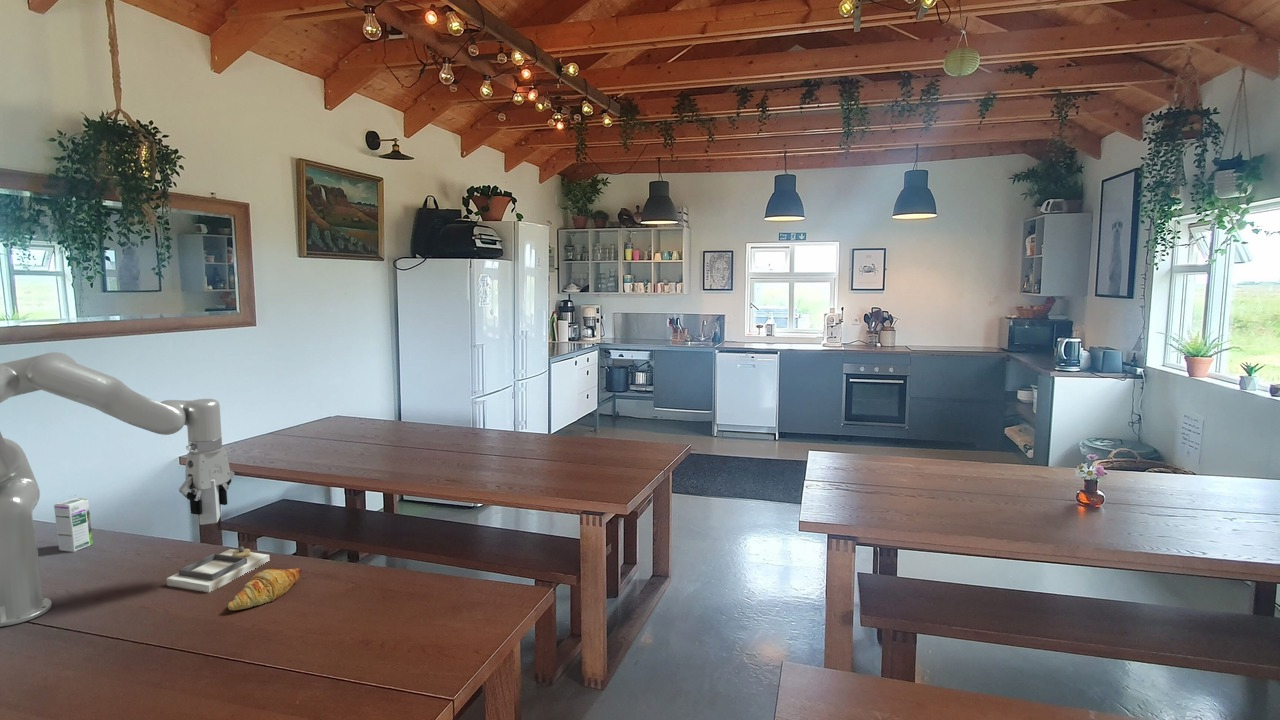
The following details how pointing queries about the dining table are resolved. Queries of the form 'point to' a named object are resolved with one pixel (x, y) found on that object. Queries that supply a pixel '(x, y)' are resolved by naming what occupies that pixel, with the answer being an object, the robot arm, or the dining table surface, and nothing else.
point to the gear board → (217, 570)
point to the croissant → (265, 587)
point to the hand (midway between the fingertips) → (209, 508)
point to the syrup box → (73, 524)
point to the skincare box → (210, 505)
